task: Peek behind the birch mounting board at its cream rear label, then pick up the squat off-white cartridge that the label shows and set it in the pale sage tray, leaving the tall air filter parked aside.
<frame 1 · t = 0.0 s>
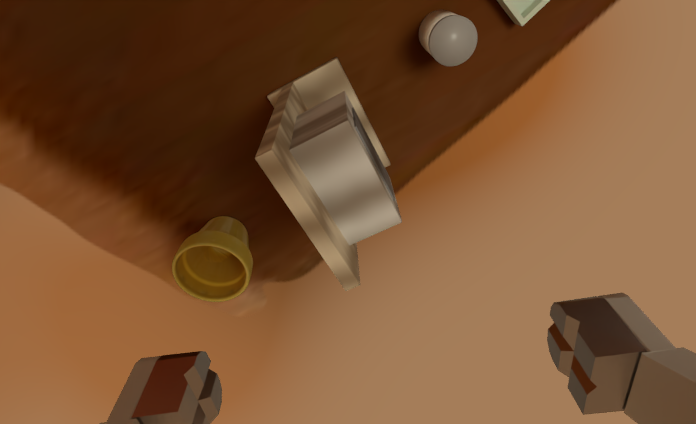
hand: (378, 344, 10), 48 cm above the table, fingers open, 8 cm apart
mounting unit: (331, 129, 57), on the table
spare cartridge: (439, 32, 51), on the table
plant pot: (226, 233, 65), on the table
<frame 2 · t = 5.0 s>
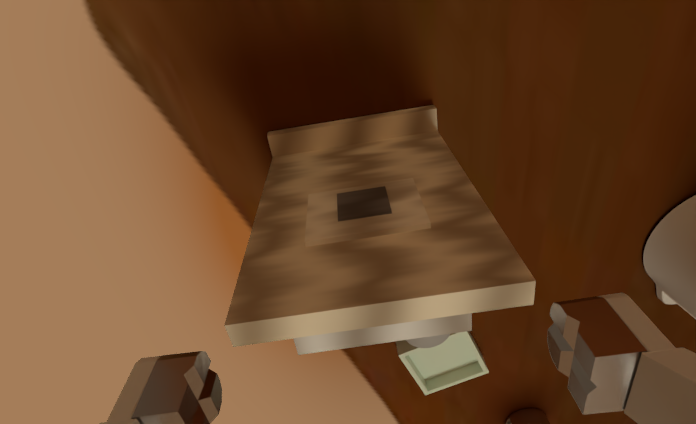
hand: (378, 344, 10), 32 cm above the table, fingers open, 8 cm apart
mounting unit: (357, 165, 43), on the table
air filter: (524, 419, 66), on the table
service tray: (440, 349, 57), on the table
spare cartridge: (415, 288, 51), on the table
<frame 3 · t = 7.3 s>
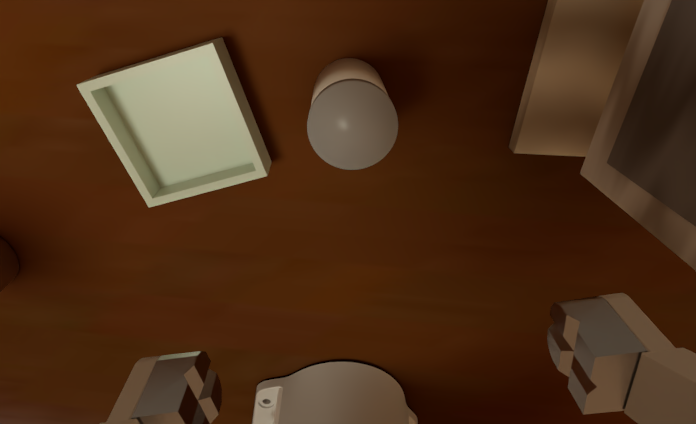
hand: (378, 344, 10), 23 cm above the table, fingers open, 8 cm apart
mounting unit: (610, 39, 28), on the table
service tray: (188, 121, 30), on the table
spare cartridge: (348, 94, 30), on the table
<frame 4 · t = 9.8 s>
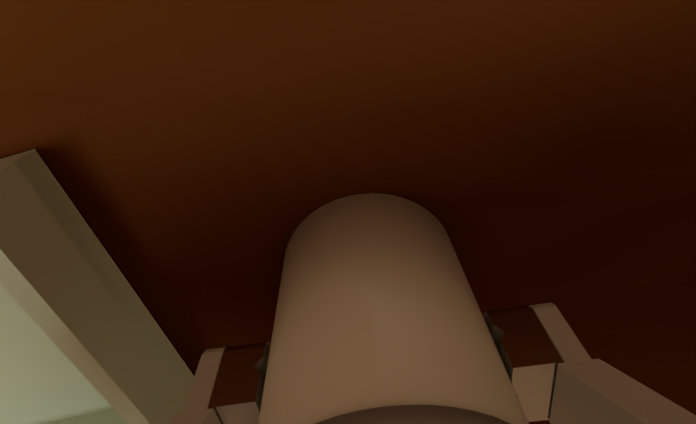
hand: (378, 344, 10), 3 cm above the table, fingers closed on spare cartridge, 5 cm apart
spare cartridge: (368, 267, 13), on the table, touching gripper
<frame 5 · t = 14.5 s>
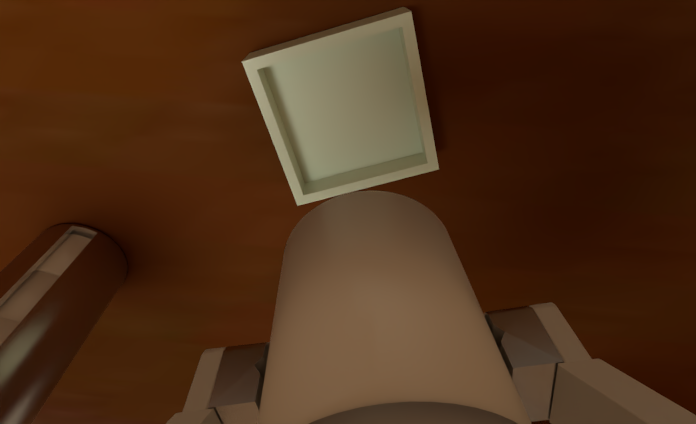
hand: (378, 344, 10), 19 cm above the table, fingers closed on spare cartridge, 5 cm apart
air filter: (84, 257, 32), on the table
service tray: (346, 106, 26), on the table
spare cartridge: (368, 265, 12), point 16 cm above the table, touching gripper
when the fingers open (5 cm above the table, at t = 18.8 s): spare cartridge drops 1 cm, resting on service tray.
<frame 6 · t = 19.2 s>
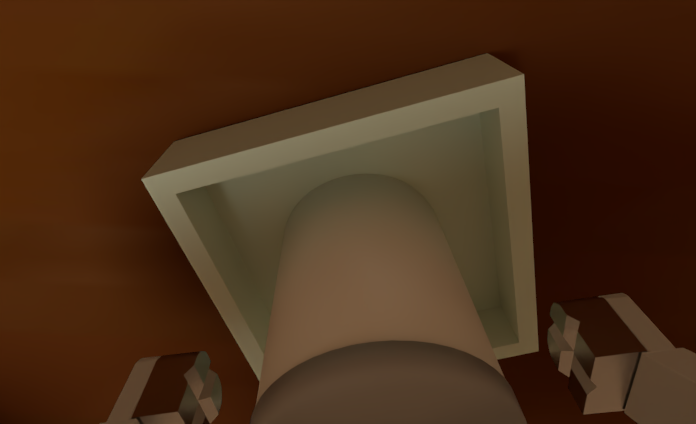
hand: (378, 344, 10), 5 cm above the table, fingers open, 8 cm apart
service tray: (364, 230, 14), on the table
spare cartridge: (362, 244, 13), point 1 cm above the table, touching service tray
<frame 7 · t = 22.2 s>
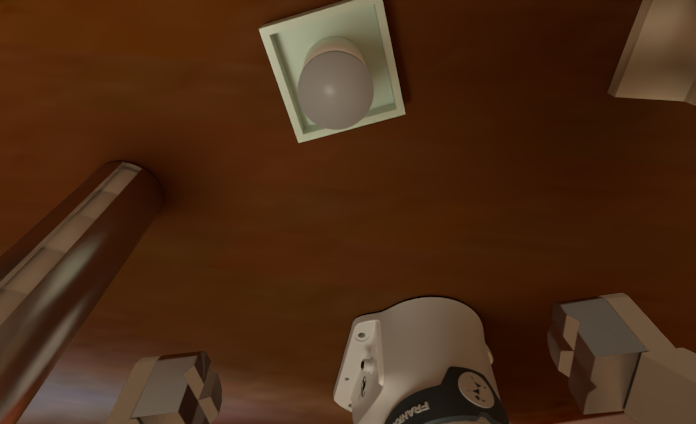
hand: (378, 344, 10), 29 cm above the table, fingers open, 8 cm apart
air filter: (129, 190, 40), on the table
service tray: (335, 67, 35), on the table
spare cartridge: (334, 69, 34), point 1 cm above the table, touching service tray
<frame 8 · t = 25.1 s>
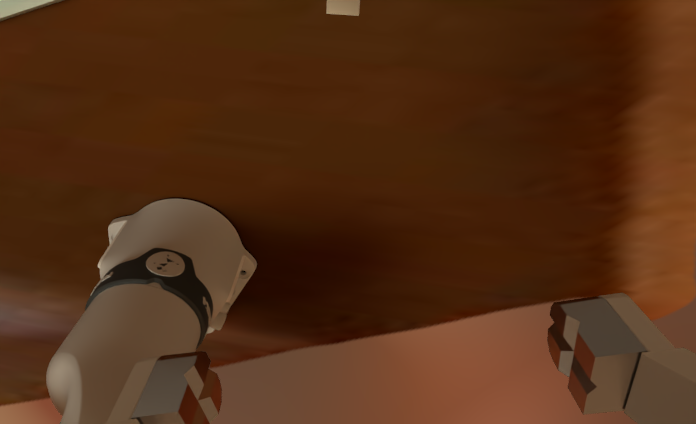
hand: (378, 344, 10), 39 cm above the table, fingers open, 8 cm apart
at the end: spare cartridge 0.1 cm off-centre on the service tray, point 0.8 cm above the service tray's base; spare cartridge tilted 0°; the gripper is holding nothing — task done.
